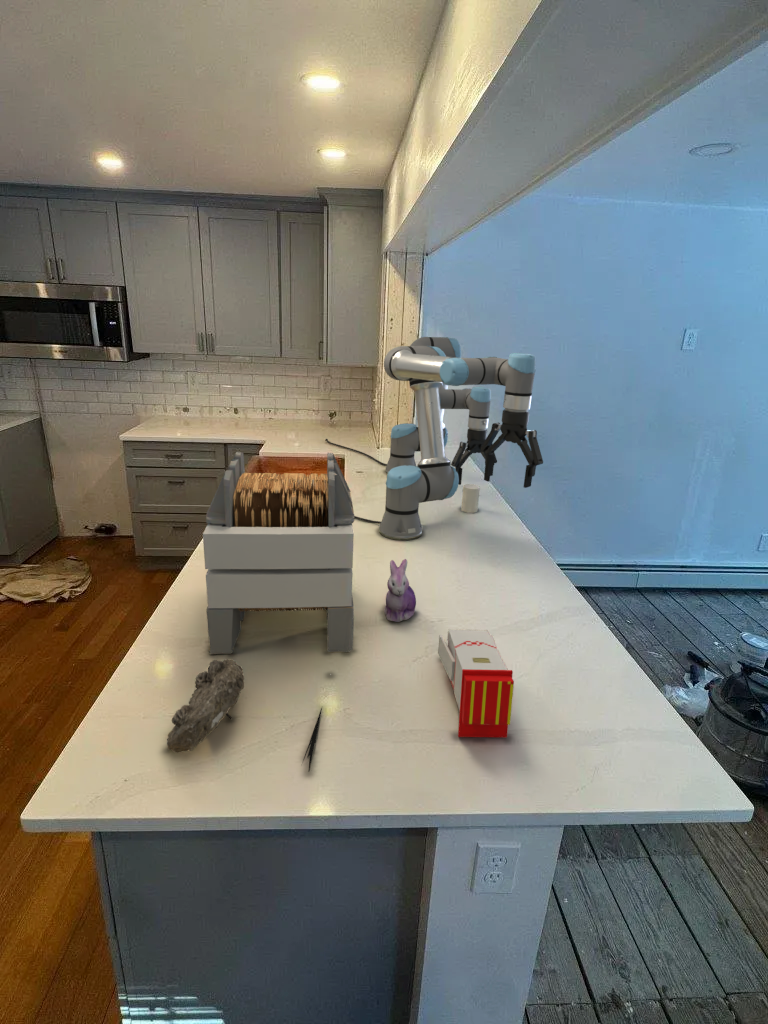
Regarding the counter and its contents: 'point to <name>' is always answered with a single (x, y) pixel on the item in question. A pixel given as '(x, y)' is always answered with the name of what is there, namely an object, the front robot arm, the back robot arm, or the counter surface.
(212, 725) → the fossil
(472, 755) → the counter surface
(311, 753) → the feather
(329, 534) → the record storage crate
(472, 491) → the cylinder
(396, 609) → the figurine
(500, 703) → the toy
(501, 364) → the front robot arm
